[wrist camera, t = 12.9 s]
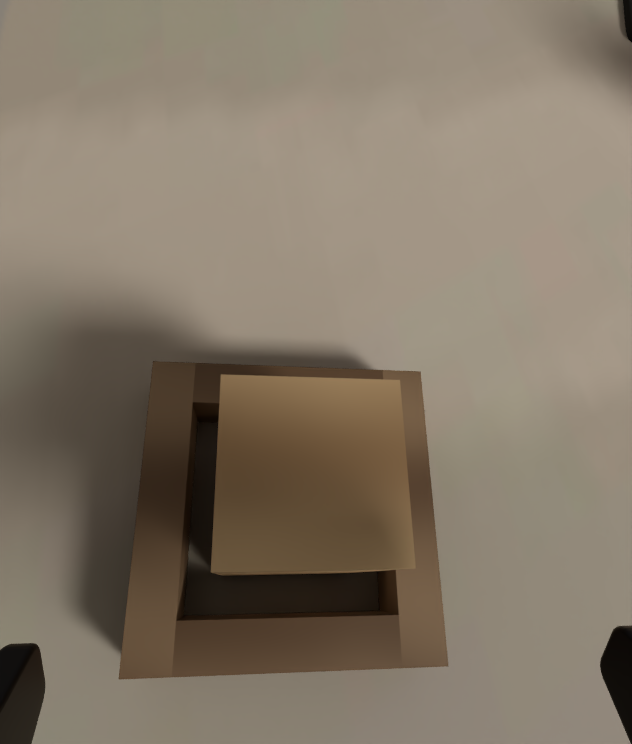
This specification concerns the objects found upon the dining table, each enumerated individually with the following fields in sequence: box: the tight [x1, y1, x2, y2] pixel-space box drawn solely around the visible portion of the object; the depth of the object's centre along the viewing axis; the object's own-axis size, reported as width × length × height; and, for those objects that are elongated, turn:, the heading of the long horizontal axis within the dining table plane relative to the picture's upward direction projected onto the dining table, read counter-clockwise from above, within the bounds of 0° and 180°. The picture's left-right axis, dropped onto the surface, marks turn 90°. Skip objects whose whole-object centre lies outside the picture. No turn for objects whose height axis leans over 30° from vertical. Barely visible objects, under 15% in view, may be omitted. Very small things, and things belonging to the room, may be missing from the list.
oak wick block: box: [211, 374, 416, 576], centre depth 16 cm, size 4×4×8 cm
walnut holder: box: [119, 361, 448, 679], centre depth 19 cm, size 10×10×2 cm
